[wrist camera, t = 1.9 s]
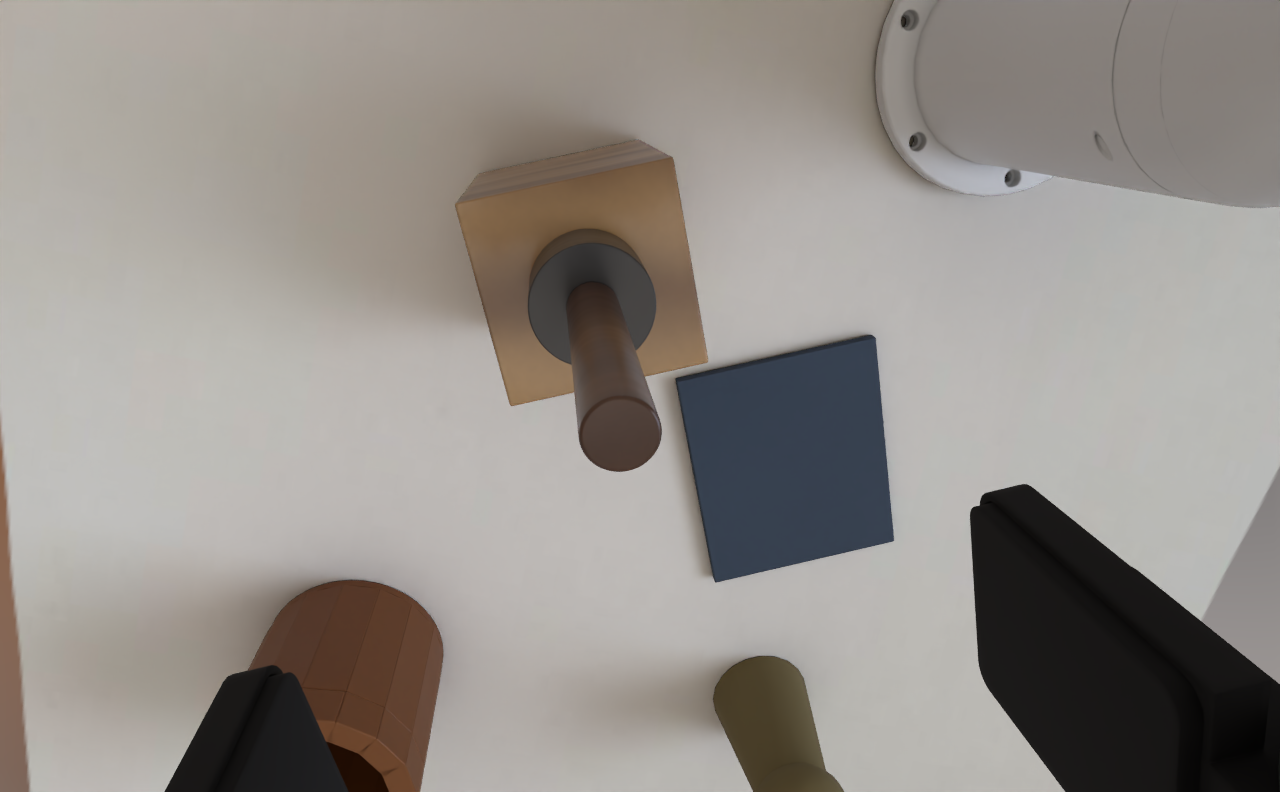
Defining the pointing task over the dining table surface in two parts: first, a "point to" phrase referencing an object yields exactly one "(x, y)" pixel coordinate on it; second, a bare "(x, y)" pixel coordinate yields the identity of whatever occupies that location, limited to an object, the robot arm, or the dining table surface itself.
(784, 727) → the olive game pawn
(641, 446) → the brush
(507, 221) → the tall wooden block
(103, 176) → the dining table surface
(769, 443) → the mat
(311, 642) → the jar
